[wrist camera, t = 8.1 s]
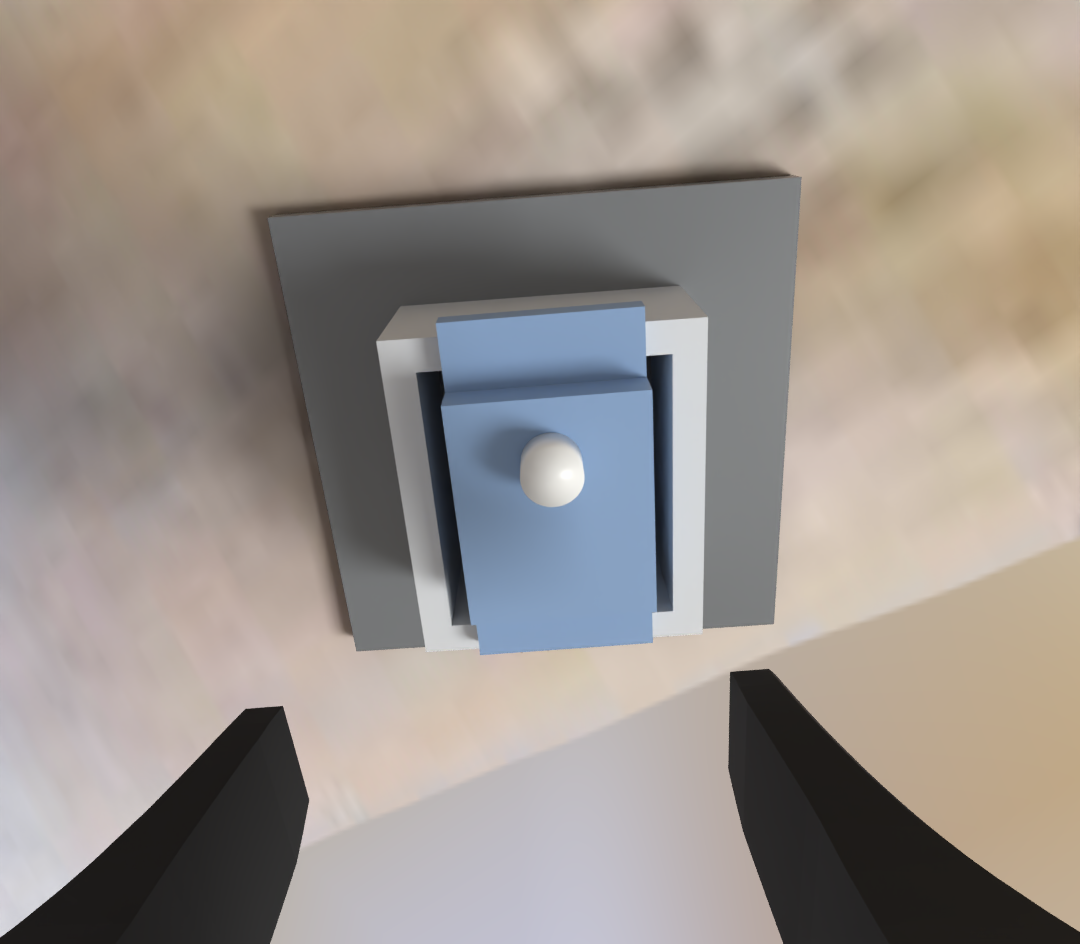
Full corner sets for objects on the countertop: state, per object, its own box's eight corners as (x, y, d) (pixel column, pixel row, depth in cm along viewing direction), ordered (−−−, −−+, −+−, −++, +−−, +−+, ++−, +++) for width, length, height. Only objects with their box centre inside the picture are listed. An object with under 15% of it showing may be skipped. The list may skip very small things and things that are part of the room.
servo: (487, 570, 22) (476, 701, 17) (453, 285, 18) (425, 345, 14) (633, 560, 21) (663, 688, 17) (623, 271, 18) (657, 326, 13)
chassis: (360, 638, 23) (330, 730, 20) (275, 214, 18) (215, 237, 15) (768, 611, 23) (810, 699, 19) (793, 175, 18) (856, 188, 15)
